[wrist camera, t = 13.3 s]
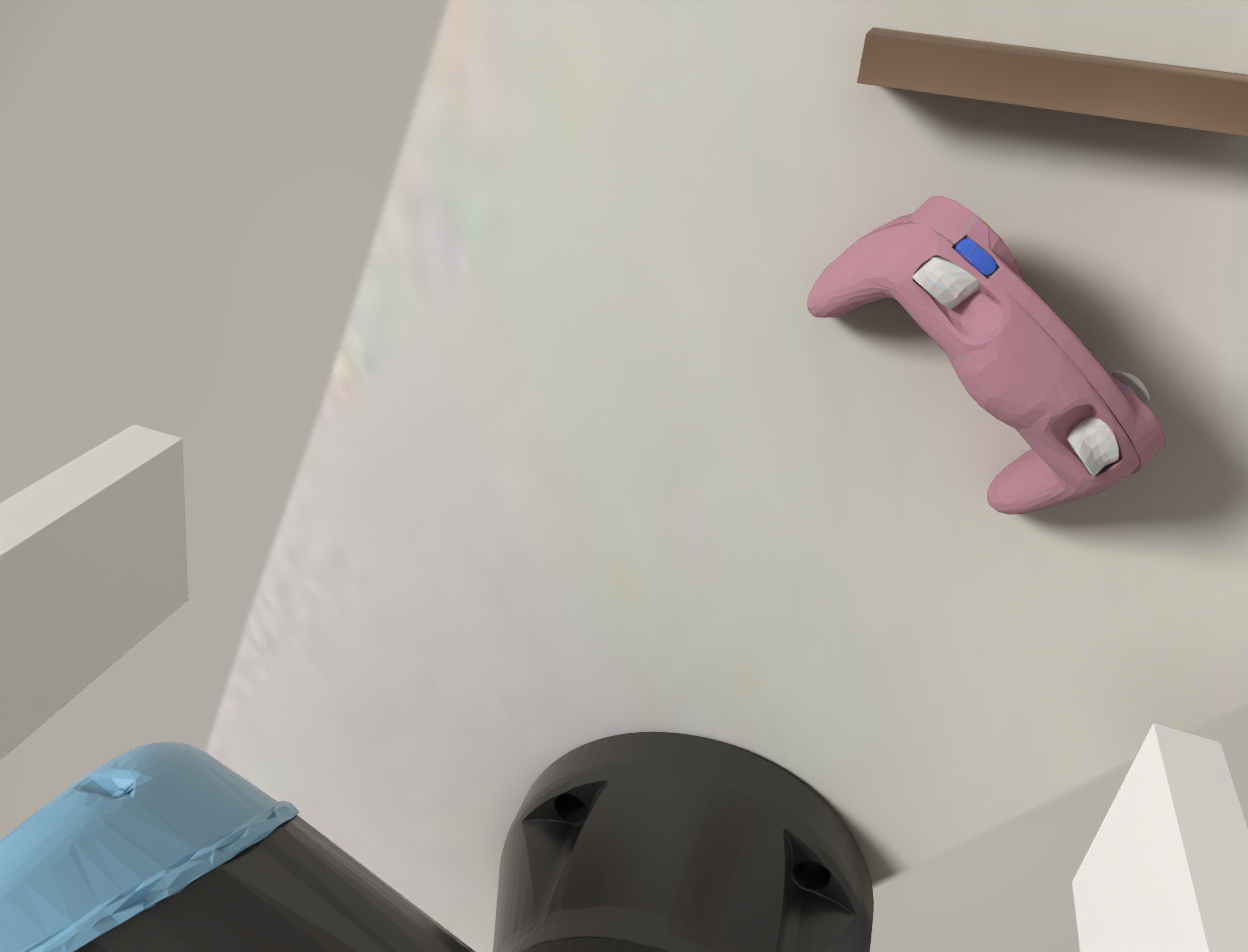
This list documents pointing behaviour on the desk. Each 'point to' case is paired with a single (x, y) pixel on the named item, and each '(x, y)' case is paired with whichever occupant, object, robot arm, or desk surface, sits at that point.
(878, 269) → the video game controller
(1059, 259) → the desk surface
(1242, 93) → the dock
